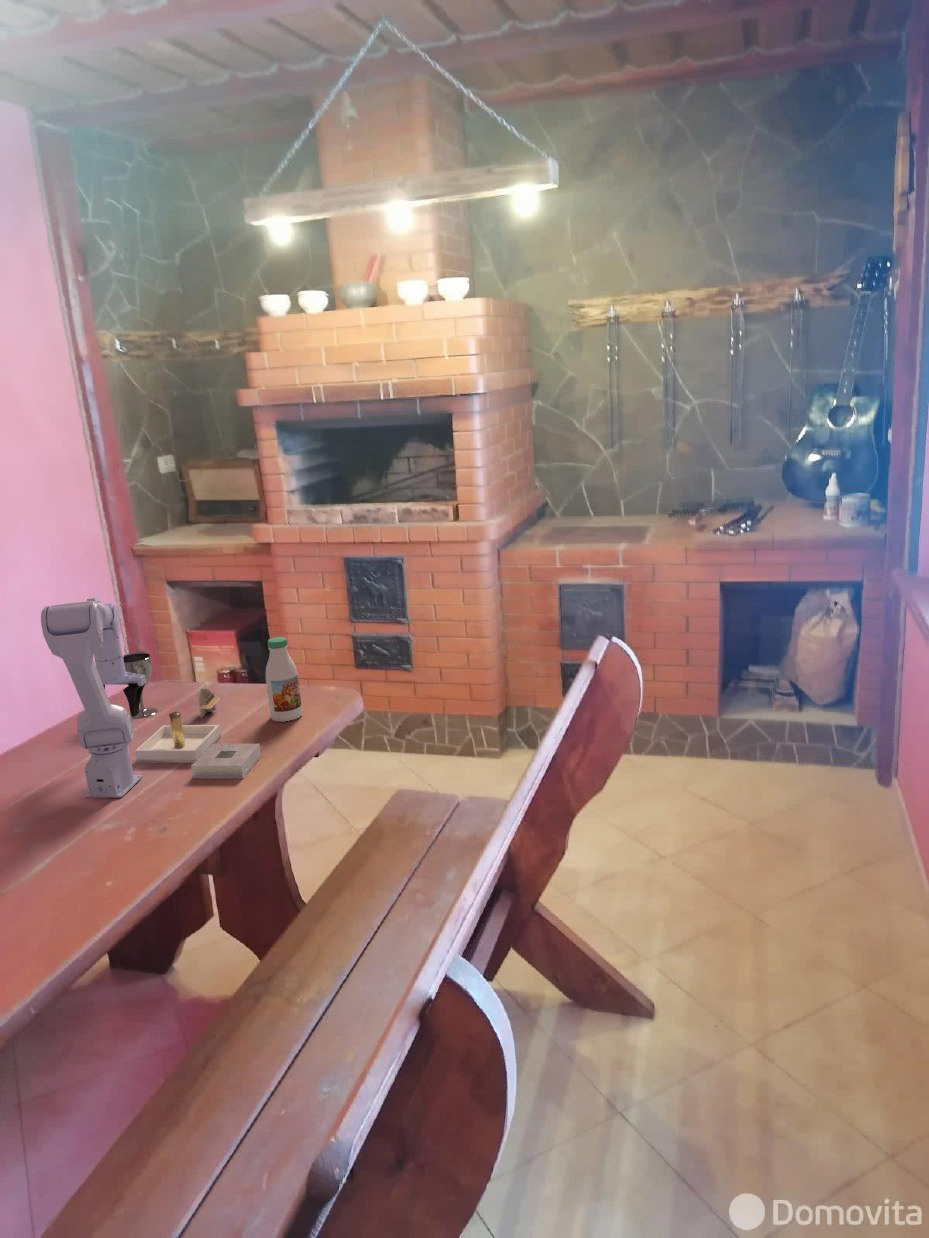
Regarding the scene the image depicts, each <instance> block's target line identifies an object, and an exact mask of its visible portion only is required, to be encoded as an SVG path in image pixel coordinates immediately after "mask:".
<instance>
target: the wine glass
mask: <svg viewBox="0 0 929 1238" xmlns="http://www.w3.org/2000/svg"><path fill="white" fill-rule="evenodd" d="M123 660H124V665H125V671H126V672H129V673H135V674H143V675H145V677H146V683H145V686H144V688H145V687H146V684H148V682H149V680H150V678H151V676H152V671H153V669H152V658H151V654H150V653H149V652H146V651H145V652H143V651H142V652H132V653H127V654H123ZM144 688H143V691H142V694H141V698H140V704H139V714H137V715H136V716H135V717H132V716H131V713H130V712H129V713H128V714H129V715H130V716H131V718H132V719H135V720H136V719H144V718H149V717H151V716H154V715H155V714H157V713H158V711H159V710H158V708H156V707H144V700H143V699H144V698H143V692H144Z"/></svg>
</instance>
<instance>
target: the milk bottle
mask: <svg viewBox="0 0 929 1238" xmlns="http://www.w3.org/2000/svg"><path fill="white" fill-rule="evenodd" d="M288 646H289V645H288V639H287V637H285V636H276V637H272V638H269V639H268V640H267V647H268V648H267V649H268V650H269V657H268V660H267V663H266V666H265V667H266V668H265V684H266V691H267V692H266V693H267V701H268V709H269V714H270V718H271V720H272V721H273V722H278V723H286V721H288V722H291V721H290V720H292V721H295V720H297V718H298V719H300V718H301V717H302V715H303V707H302V699H301V698H302V697H301V690H300V683H299V675H298V670H297V669H298V668H297V666H296V664H295V662H294V660H293V659H292V657H291V656H290V653H289V652H288V651H289V650H288ZM300 716H301V717H300ZM294 719H295V720H294Z"/></svg>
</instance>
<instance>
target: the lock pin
mask: <svg viewBox="0 0 929 1238" xmlns="http://www.w3.org/2000/svg"><path fill="white" fill-rule="evenodd" d="M168 715H169V716H168V717H169V721H170V725H171V729H172V735H173V741H174V747H175V748H176V749H179V748H183V747H185V739H184V733H183V727H182V725H183V720H182V714H181V712H180V711H172V712H170V713H169V714H168Z"/></svg>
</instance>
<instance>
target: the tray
mask: <svg viewBox="0 0 929 1238" xmlns="http://www.w3.org/2000/svg"><path fill="white" fill-rule="evenodd" d="M182 727H183V733H184V739H185V747H183V748H179V749H176V748H175V747H174V741H173V735H172V729H171V724H170V725H168V724H167V725H164V724H163V725H162V726H161V727H160V728H159V729H157V730H156V731H155V732H154V733H153V734H152V735H151V736H149V738H148V739H147V738H146V740H145V741H144V742H143V743H142V744H141V745H139V746H138V747H137V748H136V749H135V750H134V754H135V759H136V763H137V764H193V763H194V762H195V761H196V760H197V759H198V758H199V757H200V756H201V755H202V754H203V753H204V752H205V751H206V750H207V749H208V748H209V747H210V745H211V744H217V742H218V741H219V740H220V739H221V738H222V733H221V726H220V724H191V725H190V724H182Z"/></svg>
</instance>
